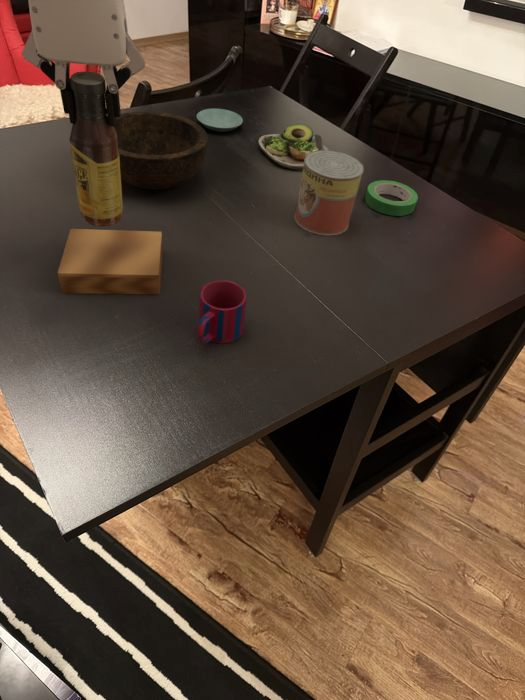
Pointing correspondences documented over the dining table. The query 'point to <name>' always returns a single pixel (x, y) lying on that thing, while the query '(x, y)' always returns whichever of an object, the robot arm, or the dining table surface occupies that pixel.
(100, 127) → the sauce bottle
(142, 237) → the oak stand
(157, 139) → the bowl
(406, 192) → the tape roll
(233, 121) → the saucer
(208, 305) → the mug
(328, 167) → the canned food
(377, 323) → the dining table surface
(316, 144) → the avocado toast plate
